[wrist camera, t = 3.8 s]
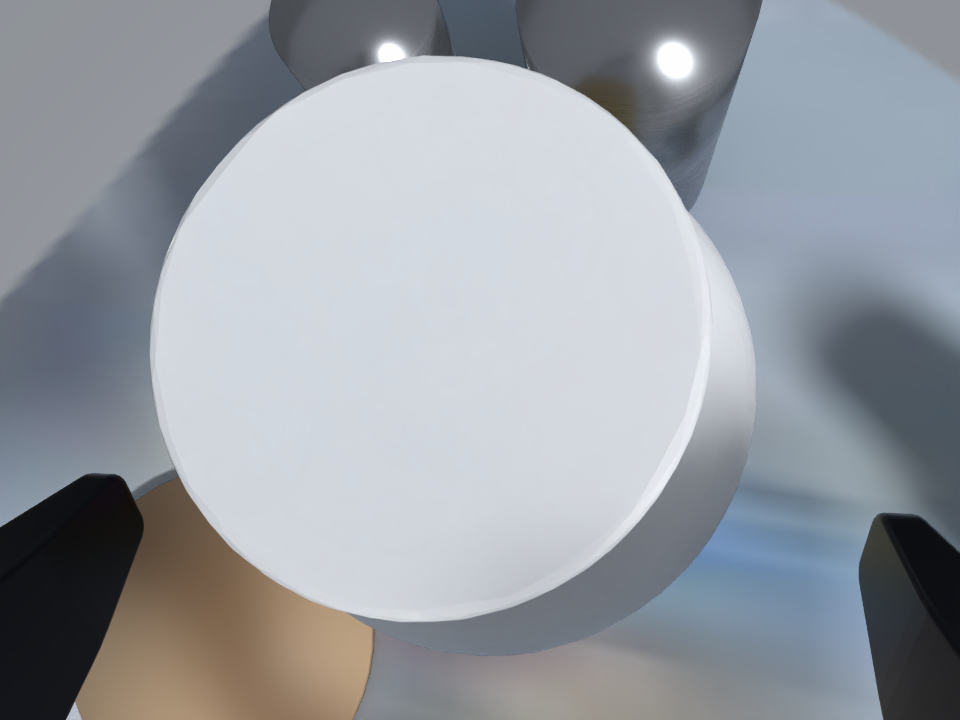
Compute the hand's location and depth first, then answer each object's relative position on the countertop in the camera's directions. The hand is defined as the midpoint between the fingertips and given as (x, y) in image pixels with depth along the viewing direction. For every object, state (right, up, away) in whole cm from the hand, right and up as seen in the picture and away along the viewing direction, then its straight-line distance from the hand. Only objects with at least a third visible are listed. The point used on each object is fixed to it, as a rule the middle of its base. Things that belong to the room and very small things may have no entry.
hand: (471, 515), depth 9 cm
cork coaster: (-6, -5, +10) cm, 13 cm away
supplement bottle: (+2, 0, +10) cm, 10 cm away
